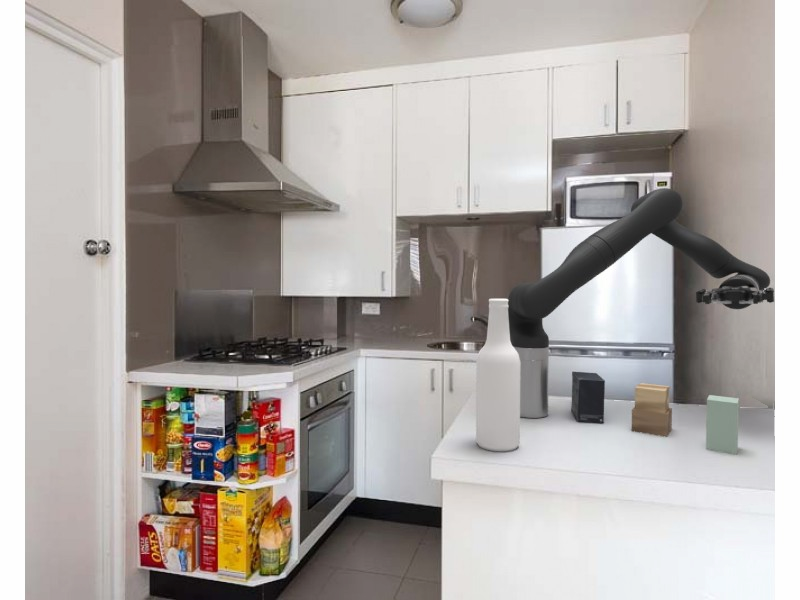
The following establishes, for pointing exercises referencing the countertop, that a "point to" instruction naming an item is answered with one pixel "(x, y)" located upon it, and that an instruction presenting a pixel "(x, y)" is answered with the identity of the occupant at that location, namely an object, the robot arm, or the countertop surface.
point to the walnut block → (652, 422)
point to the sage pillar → (722, 424)
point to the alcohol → (498, 384)
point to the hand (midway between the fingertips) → (730, 299)
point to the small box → (588, 397)
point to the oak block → (652, 398)
